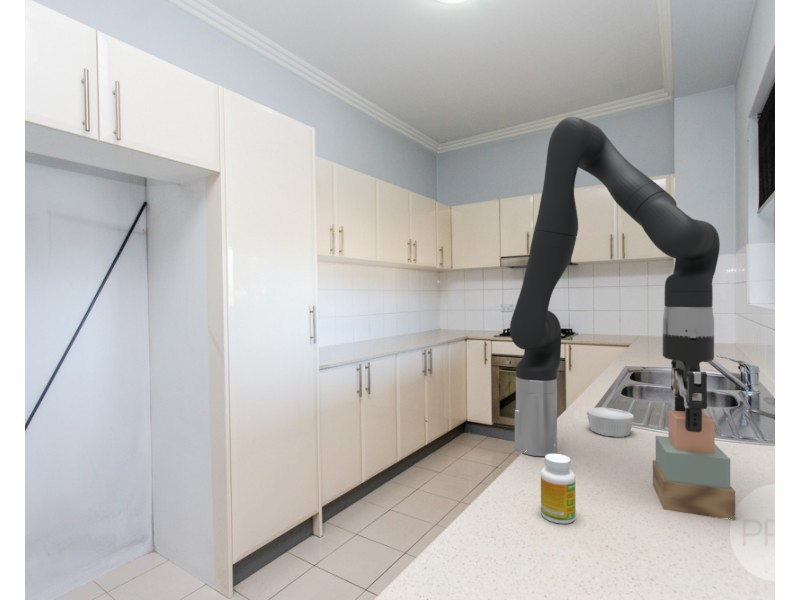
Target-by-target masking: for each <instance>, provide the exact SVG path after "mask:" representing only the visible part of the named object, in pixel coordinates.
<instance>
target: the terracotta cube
mask: <svg viewBox="0 0 800 600" xmlns="http://www.w3.org/2000/svg"><path fill="white" fill-rule="evenodd" d="M715 425H716V423H715V420H714V419H712V418H711V417H710V416H708V415H707V414H706V413H704V412H702V431H701V432H691V431H687V430H686V428H685V411H675V410H673V409H672V410H669V409H668V437H669V441H670V442H671V444H672V445H673V446H674V447H675V449H676V450H681V451H690V452H700V453H710V454H715V445H716V444H715V427H716V426H715Z"/></svg>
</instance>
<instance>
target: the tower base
mask: <svg viewBox="0 0 800 600" xmlns="http://www.w3.org/2000/svg"><path fill="white" fill-rule="evenodd" d="M652 487H653V488H654V490H655V493H656V496H657V498H658V500H659V502H660V504H661V506H662V510H664V511H665V510H666V511H672V512H677V513H684V514H691V515H695V516H696V515H697V516H702V515H703V516H704V517H709V516H710V517H711V518H715V517H718V518H717V519H721V518H728V519H729V518H730V519H735V520H736V491H735V490H734V488H733V487H732V486H731V485H730V490H729V489H721V488H714V487H706V486H699V485H691V484H683V483H676V482H668V481H666V480H665V478H664V476H663V474H662V473H661V471H660V469H659V467H658V465H657V463H656V460H652ZM728 519H727V520H728Z"/></svg>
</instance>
